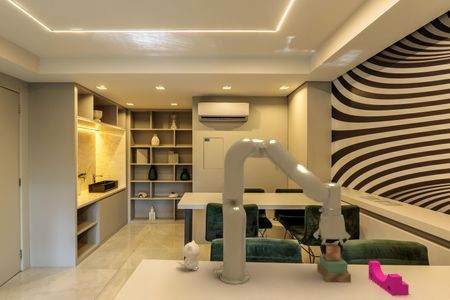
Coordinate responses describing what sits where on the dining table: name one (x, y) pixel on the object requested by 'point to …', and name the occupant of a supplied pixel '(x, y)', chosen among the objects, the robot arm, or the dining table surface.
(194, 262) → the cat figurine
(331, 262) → the tower top
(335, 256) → the terracotta cube
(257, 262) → the dining table surface
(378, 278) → the magenta curved bracket
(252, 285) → the dining table surface
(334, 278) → the tower base
